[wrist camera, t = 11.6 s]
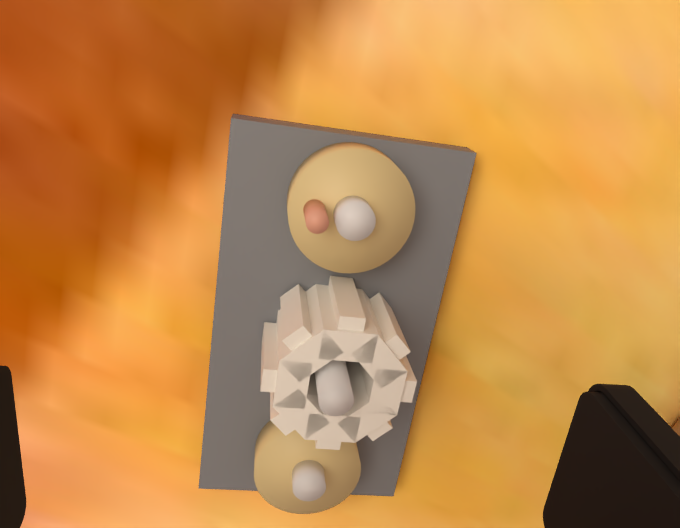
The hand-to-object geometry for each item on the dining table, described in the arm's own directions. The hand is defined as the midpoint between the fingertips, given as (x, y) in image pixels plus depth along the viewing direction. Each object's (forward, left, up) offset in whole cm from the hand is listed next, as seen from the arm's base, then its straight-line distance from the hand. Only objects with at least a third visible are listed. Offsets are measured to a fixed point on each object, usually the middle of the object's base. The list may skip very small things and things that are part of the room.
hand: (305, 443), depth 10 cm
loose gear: (-4, +9, -20) cm, 22 cm away
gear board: (-3, +9, -21) cm, 23 cm away
